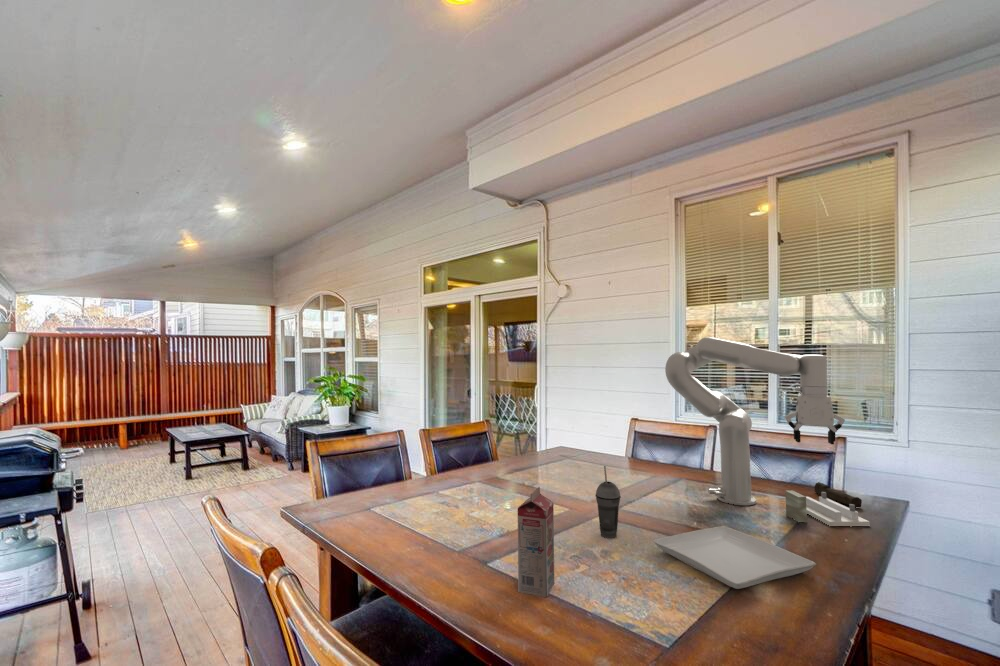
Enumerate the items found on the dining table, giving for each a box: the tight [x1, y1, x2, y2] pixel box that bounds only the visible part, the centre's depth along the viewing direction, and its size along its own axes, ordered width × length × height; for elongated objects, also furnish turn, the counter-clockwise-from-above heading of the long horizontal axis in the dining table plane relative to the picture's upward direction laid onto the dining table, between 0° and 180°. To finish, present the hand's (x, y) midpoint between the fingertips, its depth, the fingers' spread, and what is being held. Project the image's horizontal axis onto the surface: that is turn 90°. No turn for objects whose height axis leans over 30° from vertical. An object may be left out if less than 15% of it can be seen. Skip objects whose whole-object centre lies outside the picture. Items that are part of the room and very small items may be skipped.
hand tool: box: [814, 481, 863, 508], centre depth 171 cm, size 19×4×5 cm, turn 3°
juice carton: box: [517, 486, 555, 598], centre depth 109 cm, size 7×7×22 cm
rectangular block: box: [784, 490, 808, 523], centre depth 153 cm, size 2×7×8 cm, turn 179°
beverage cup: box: [595, 465, 622, 540], centre depth 140 cm, size 7×7×20 cm
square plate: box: [652, 525, 817, 590], centre depth 121 cm, size 27×27×4 cm
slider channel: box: [805, 492, 871, 528], centre depth 154 cm, size 12×18×6 cm, turn 179°
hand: (814, 442), depth 159 cm, fingers open, 9 cm apart
